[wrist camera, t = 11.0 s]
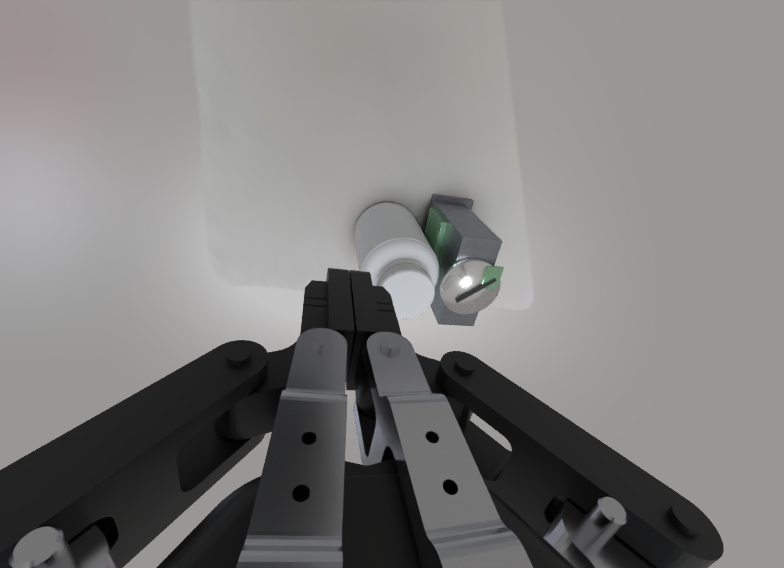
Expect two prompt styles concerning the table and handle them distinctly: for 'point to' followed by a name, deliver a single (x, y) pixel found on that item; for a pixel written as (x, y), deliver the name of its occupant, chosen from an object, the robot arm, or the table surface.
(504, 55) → the table surface
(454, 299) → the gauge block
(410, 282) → the pill bottle
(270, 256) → the table surface
